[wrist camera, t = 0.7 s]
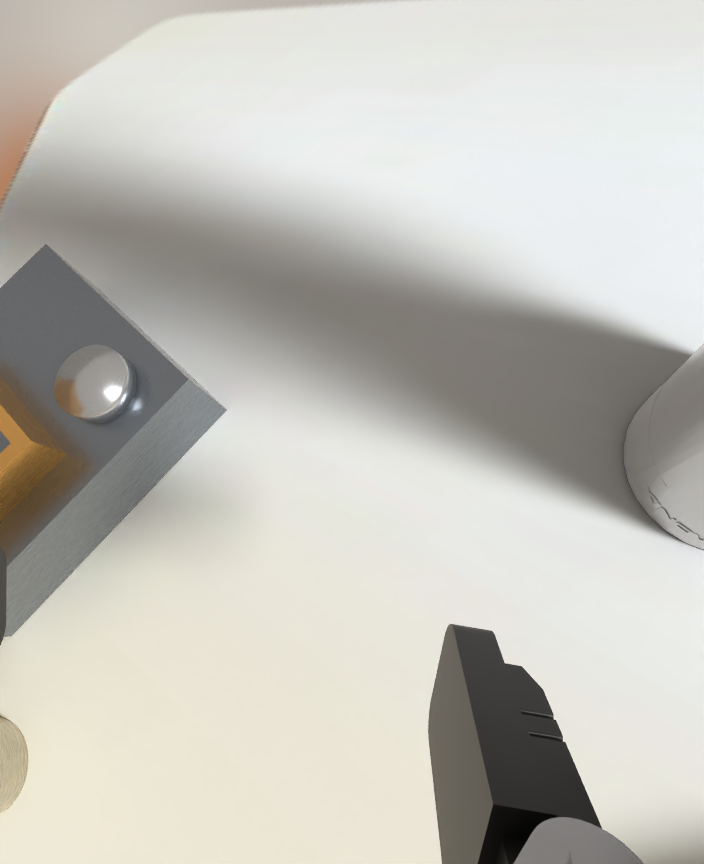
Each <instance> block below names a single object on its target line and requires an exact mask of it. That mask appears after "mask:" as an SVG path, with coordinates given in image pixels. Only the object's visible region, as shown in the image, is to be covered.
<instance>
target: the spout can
mask: <svg viewBox="0 0 704 864" xmlns="http://www.w3.org/2000/svg"><path fill="white" fill-rule="evenodd" d="M27 769H28V751H27V746H26V742H25V739H24V737H23V735H22V733H21V731H20V730H19V729H18V727H17V726H16V725H15V724H14V723H12V722H11V721H9V720H7V719H5V718H1V717H0V815H1V814H2V813H3V812H5V811H6V810H7V809H8V808H9V807H10V806H11V805H12V804H13V802H14V801H15V800H16V798H17V797H18V795H19V793H20V791H21V789H22V787H23V785H24V782H25V779H26V775H27Z"/></svg>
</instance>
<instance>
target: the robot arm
mask: <svg viewBox="0 0 704 864" xmlns="http://www.w3.org/2000/svg"><path fill="white" fill-rule="evenodd" d="M624 466H625V470H626V474H627V478H628V482H629V484H630V486H631V488H632V490H633V492H634V494H635V497H636V499H637V500H638V502H639V503H640V504H641V505H642V507H643V508H644V509H645V511H646V512H647V513H648V515H649V516H650V517H651V518H652V519H653V520H654V521H656V522H657V523H658V524H659V525H660V526H661V527H662V528H663V529H664V530H666V531H667V532H669V533H670V534H672V535H674V536H675V537H677V538H678V539H680V540H682V541H683V542H685V543H688V544H690V545H693V546H695V547H698V548H700V549H703V550H704V344H703V345H702V346H701V347H700V348H699V349H698V350H697V351H696V352H695V353H694V354H693V355H692V356H691V357H690V358H689V359H688V360H687V361H686V362H685V363H684V364H683V365H682V366H681V367H680V368H679V369H678V370H676V371H675V372H674V373H673V374H672V375H671V376H670V377H669V378H668V379H667V380H666V381H665V382H664V383H663V384H662V385H661V386H660V387H659V388H658V389H657V390H656V391H655V392H654V393H653V394H652V395H651V396H650V397H649V398H648V399H647V400H646V402H645V403H644V404H643V405H642V406H641V407H640V408H639V410H638V411H637V412H636V413H635V415H634V417H633V419H632V421H631V423H630V425H629V427H628V430H627V434H626V438H625V442H624ZM6 589H7V560H6V555H5V552H4V551H3V550H2V549H1V548H0V645H1V642H2V640H3V637H4V634H5V629H6ZM428 734H429V747H430V756H431V765H432V774H433V783H434V792H435V801H436V811H437V820H438V829H439V838H440V847H441V856H442V864H643V862H642V861H641V860H640V859H639V858H638V857H637V856H636V855H635V854H634V853H633V852H632V851H631V850H630V849H629V848H628V847H627V846H626V845H625V844H623V843H622V842H621V841H620V840H618V839H617V838H616V837H614V836H613V835H611V834H610V833H608V832H606V831H605V830H603V829H602V827H601V825H600V823H599V820H598V818H597V816H596V813H595V811H594V809H593V806H592V804H591V802H590V799H589V797H588V795H587V792H586V790H585V787H584V785H583V783H582V780H581V778H580V776H579V773H578V771H577V769H576V766H575V764H574V762H573V759H572V757H571V755H570V752H569V750H568V748H567V745H566V743H565V742H563V736H562V733H561V731H560V729H559V726H558V724H557V722H556V720H554V719H553V712H552V710H551V708H550V705H549V703H548V701H547V698H546V696H545V693H544V691H543V689H542V688H541V687H540V686H539V685H538V684H537V683H536V682H535V680H534V679H533V678H532V677H531V676H530V675H529V674H528V673H527V672H526V671H525V670H524V668H523V667H522V666H517V665H511V664H505V663H504V660H503V658H502V655H501V652H500V649H499V646H498V643H497V640H496V637H495V635H494V633H493V632H492V631H490V630H484V629H478V628H472V627H466V626H460V625H454V624H450V625H449V626H448V628H447V630H446V633H445V637H444V642H443V646H442V651H441V656H440V660H439V665H438V670H437V674H436V679H435V684H434V688H433V693H432V698H431V703H430V711H429V726H428Z"/></svg>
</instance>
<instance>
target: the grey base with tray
mask: <svg viewBox="0 0 704 864" xmlns="http://www.w3.org/2000/svg"><path fill="white" fill-rule="evenodd" d="M225 411H226V409H225V408H224V407H223V406H222V405H221V404H220V403H219V402H218V401H217V400H216V399H215V398H214V397H212V396H211V395H210V394H209V393H208V392H207V391H206V390H205V389H204V388H203V387H202V386H201V385H200V384H199V383H198V382H196V381H195V380H194V379H193V378H192V377H191V376H190V375H189V374H188V373H187V372H186V371H185V370H184V369H183V368H182V367H181V366H179V365H178V364H177V363H176V362H175V361H174V360H173V359H172V358H171V357H170V356H169V355H168V354H167V353H166V352H165V351H164V350H162V349H161V348H160V347H159V346H158V345H157V344H156V343H155V342H154V341H153V340H152V339H151V338H150V337H149V336H148V335H147V334H145V333H144V332H143V331H142V330H141V329H140V328H139V327H138V326H137V325H136V324H135V323H134V322H133V321H132V320H131V319H129V318H128V317H127V316H126V315H125V314H124V313H123V312H122V311H121V310H120V309H119V308H118V307H117V306H116V305H115V304H114V303H112V302H111V301H110V300H109V299H108V298H107V297H106V296H105V295H104V294H103V293H102V292H101V291H100V290H99V289H98V288H96V287H95V286H94V285H93V284H92V283H91V282H89V281H88V280H87V279H86V278H85V277H84V276H82V275H81V274H80V273H79V272H78V271H77V270H75V269H74V268H73V267H72V266H71V265H70V264H68V263H67V262H66V261H65V260H64V259H63V258H61V257H60V256H59V255H58V254H57V253H56V252H54V251H53V250H52V249H51V248H50V247H49V246H47V245H45V246H44V247H43V248H42V249H41V250H39V251H38V252H37V253H36V254H35V255H34V256H33V257H32V258H31V259H30V260H29V261H28V262H27V263H26V264H25V265H24V266H23V267H22V268H21V269H20V270H19V271H18V272H17V273H16V274H15V275H14V276H13V277H12V278H10V279H9V280H8V281H7V282H6V283H5V284H4V285H3V286H2V287H1V288H0V548H1V549H2V550H3V551H4V552H5V555H6V560H7V589H6V629H5V634H4V637H7V636H12V635H13V634H14V633H15V632H16V631H17V630H18V629H19V628H20V626H21V625H22V624H23V623H24V622H25V621H26V620H27V619H28V618H29V617H30V616H31V615H32V614H33V613H34V612H35V611H36V610H37V609H38V608H39V607H40V605H41V604H42V603H43V602H44V601H45V600H46V599H47V598H48V597H49V596H50V595H51V594H52V593H53V592H54V591H55V590H56V589H57V588H58V587H59V586H60V584H61V583H62V582H63V581H64V580H65V579H66V578H67V577H68V576H69V575H70V574H71V573H72V572H73V571H74V570H75V569H76V568H77V567H78V566H79V564H80V563H81V562H82V561H83V560H84V559H85V558H86V557H87V556H88V555H89V554H90V553H91V552H92V551H93V550H94V549H95V548H96V547H97V546H98V545H99V543H100V542H101V541H102V540H103V539H104V538H105V537H106V536H107V535H108V534H109V533H110V532H111V531H112V530H113V529H114V528H115V527H116V526H117V525H118V524H119V522H120V521H121V520H122V519H123V518H124V517H125V516H126V515H127V514H128V513H129V512H130V511H131V510H132V509H133V508H134V507H135V506H136V505H137V504H138V503H139V501H140V500H141V499H142V498H143V497H144V496H145V495H146V494H147V493H148V492H149V491H150V490H151V489H152V488H153V487H154V486H155V485H156V484H157V483H158V482H159V480H160V479H161V478H162V477H163V476H164V475H165V474H166V473H167V472H168V471H169V470H170V469H171V468H172V467H173V466H174V465H175V464H176V463H177V462H178V460H179V459H180V458H181V457H182V456H183V455H184V454H185V453H186V452H187V451H188V450H189V449H190V448H191V447H192V446H193V445H194V444H195V443H196V442H197V441H198V439H199V438H200V437H201V436H202V435H203V434H204V433H205V432H206V431H207V430H208V429H209V428H210V427H211V426H212V425H213V424H214V423H215V422H216V421H217V420H218V418H219V417H220V416H221V415H222V414H223V413H224V412H225Z"/></svg>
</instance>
